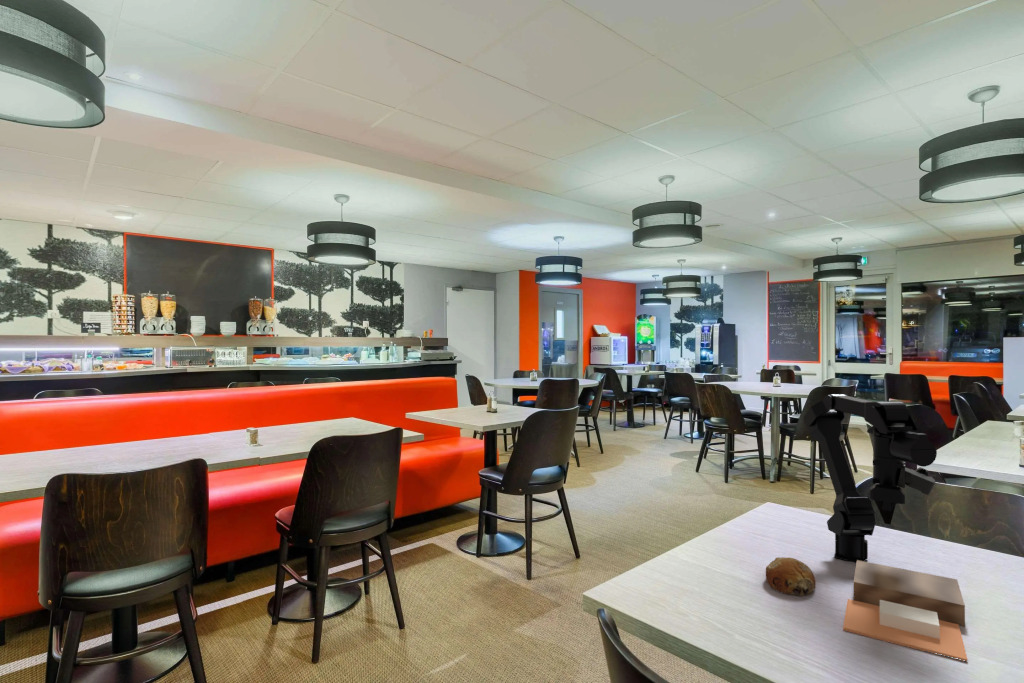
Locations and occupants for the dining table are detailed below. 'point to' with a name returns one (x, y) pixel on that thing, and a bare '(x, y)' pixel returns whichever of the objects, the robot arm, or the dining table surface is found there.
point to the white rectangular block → (909, 619)
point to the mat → (902, 631)
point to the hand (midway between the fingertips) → (887, 523)
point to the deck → (909, 590)
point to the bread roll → (790, 576)
